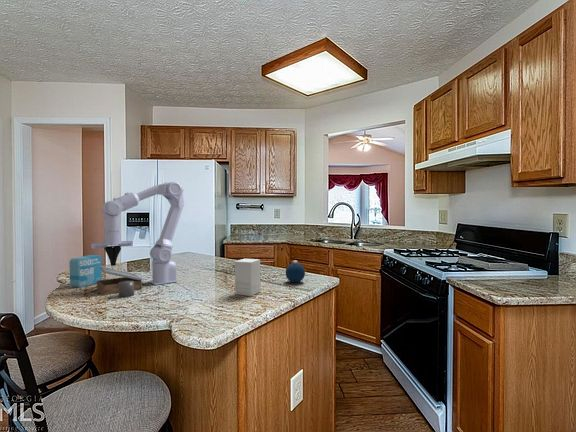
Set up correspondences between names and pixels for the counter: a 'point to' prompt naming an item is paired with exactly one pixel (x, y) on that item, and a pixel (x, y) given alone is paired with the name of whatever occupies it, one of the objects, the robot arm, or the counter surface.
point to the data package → (85, 270)
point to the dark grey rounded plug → (126, 288)
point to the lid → (120, 273)
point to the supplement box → (247, 277)
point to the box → (115, 285)
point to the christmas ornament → (295, 272)
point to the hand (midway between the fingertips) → (113, 265)
